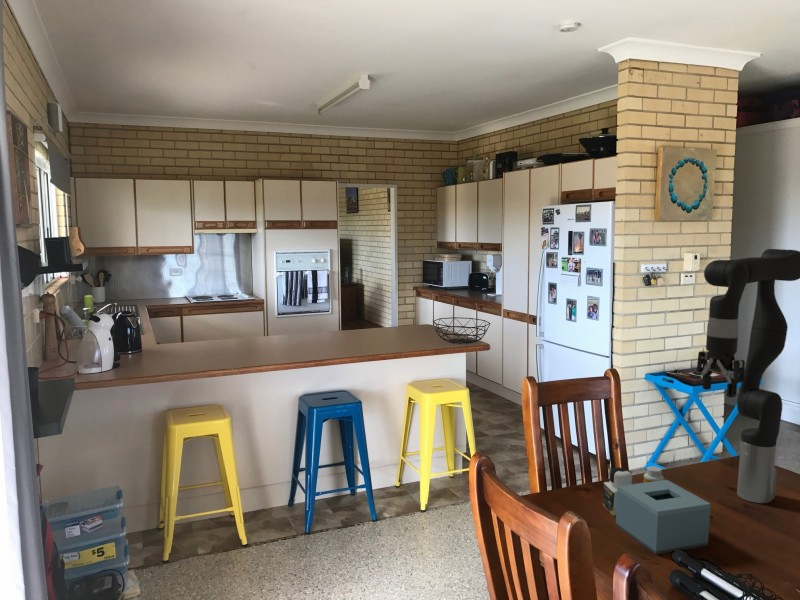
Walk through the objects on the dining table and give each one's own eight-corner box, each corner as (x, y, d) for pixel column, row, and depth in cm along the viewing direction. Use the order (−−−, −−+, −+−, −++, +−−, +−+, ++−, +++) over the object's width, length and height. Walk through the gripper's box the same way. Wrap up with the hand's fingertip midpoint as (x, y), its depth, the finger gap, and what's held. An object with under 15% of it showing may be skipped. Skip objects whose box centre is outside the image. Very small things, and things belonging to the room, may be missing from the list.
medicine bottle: (602, 505, 184) (604, 465, 183) (625, 504, 185) (627, 465, 184) (612, 516, 177) (614, 475, 176) (636, 515, 178) (639, 474, 177)
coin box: (664, 518, 176) (666, 479, 175) (707, 545, 161) (710, 503, 160) (615, 525, 172) (617, 486, 170) (655, 554, 156) (658, 511, 155)
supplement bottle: (655, 507, 183) (656, 473, 182) (638, 500, 188) (640, 467, 187) (666, 503, 186) (668, 469, 185) (649, 496, 191) (651, 463, 190)
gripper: (755, 338, 164) (750, 398, 166) (713, 329, 178) (709, 385, 180) (732, 339, 162) (727, 400, 164) (691, 330, 176) (688, 387, 178)
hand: (718, 393), depth 172 cm, fingers open, 8 cm apart
